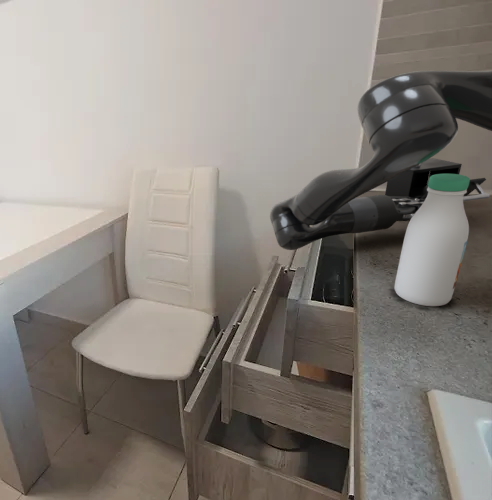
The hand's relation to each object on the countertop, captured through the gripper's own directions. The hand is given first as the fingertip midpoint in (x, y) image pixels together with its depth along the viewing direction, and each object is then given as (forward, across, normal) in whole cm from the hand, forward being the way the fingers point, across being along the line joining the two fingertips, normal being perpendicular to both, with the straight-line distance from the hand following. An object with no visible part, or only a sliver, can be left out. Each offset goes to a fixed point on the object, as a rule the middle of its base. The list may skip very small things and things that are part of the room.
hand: (439, 203), depth 80 cm
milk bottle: (-22, -22, +6) cm, 31 cm away
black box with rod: (+6, +13, +6) cm, 15 cm away
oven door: (+3, +7, +6) cm, 9 cm away
